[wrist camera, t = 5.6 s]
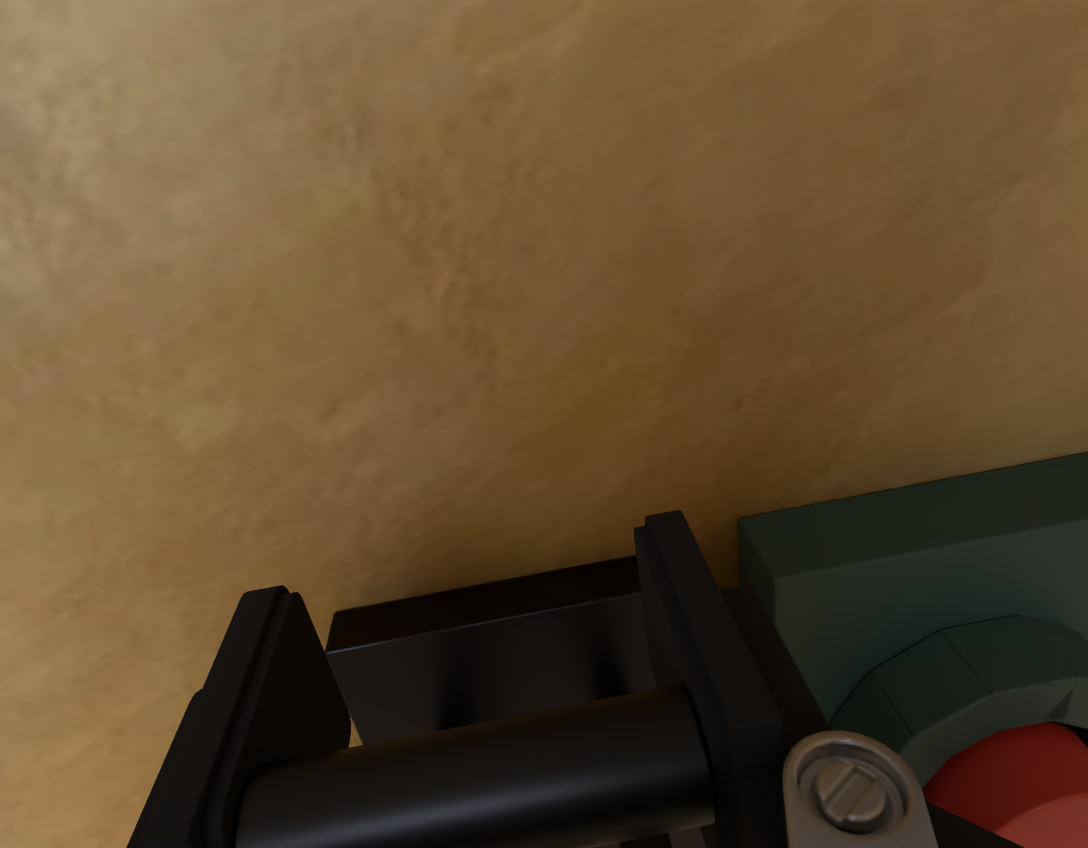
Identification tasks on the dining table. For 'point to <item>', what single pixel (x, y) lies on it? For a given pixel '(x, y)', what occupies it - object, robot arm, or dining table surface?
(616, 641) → the bracket
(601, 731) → the lever
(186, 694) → the dining table surface
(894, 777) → the robot arm
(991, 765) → the button
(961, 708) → the button box
